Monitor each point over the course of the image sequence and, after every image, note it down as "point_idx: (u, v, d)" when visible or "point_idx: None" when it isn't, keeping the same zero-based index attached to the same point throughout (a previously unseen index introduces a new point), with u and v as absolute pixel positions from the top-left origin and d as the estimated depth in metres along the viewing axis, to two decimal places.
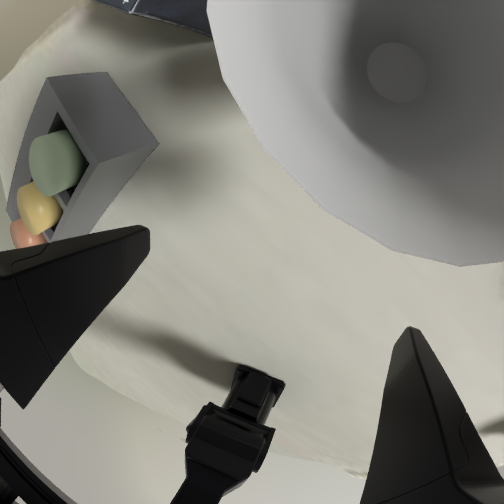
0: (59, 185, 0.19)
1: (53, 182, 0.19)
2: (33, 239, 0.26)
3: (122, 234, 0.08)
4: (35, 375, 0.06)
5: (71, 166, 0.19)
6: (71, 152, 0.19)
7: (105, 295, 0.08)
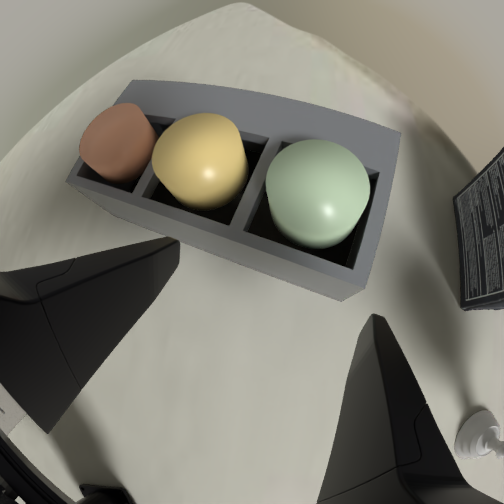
0: (312, 233, 0.14)
1: (315, 221, 0.13)
2: (128, 160, 0.17)
3: (153, 248, 0.08)
4: (61, 399, 0.06)
5: (336, 237, 0.15)
6: (352, 228, 0.15)
7: (135, 312, 0.08)
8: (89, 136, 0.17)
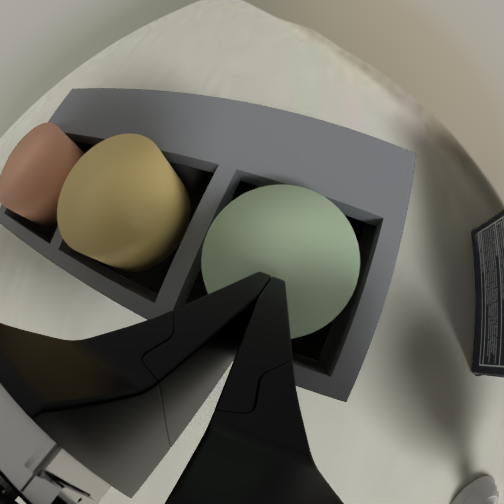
0: None
1: None
2: (43, 200, 0.12)
3: (254, 289, 0.08)
4: (153, 464, 0.05)
5: None
6: None
7: (229, 359, 0.07)
8: (9, 168, 0.12)
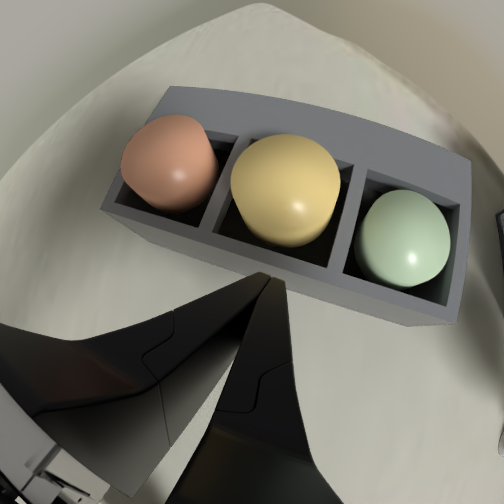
0: (408, 284, 0.14)
1: (411, 273, 0.13)
2: (190, 187, 0.15)
3: (254, 289, 0.08)
4: (152, 464, 0.05)
5: None
6: None
7: (229, 359, 0.08)
8: (133, 155, 0.15)
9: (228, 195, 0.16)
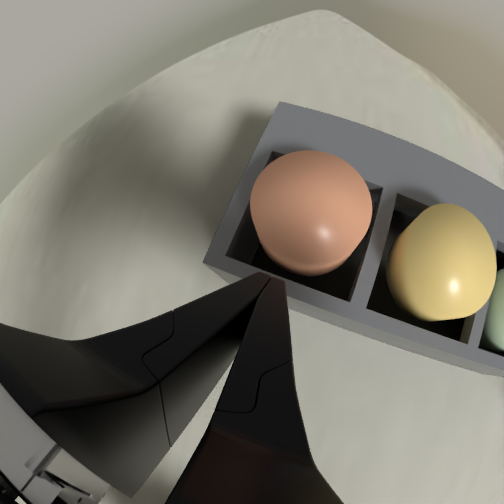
0: None
1: None
2: (348, 254, 0.12)
3: (254, 289, 0.08)
4: (152, 463, 0.05)
5: None
6: None
7: (229, 359, 0.07)
8: (269, 201, 0.12)
9: (379, 262, 0.13)
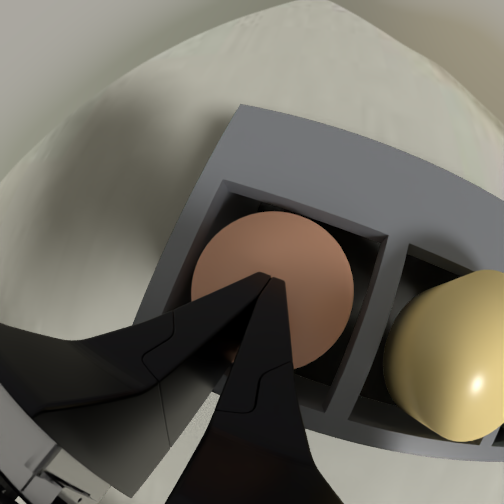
0: None
1: None
2: None
3: (254, 289, 0.08)
4: (152, 464, 0.05)
5: None
6: None
7: (229, 359, 0.07)
8: (215, 287, 0.09)
9: (374, 352, 0.09)
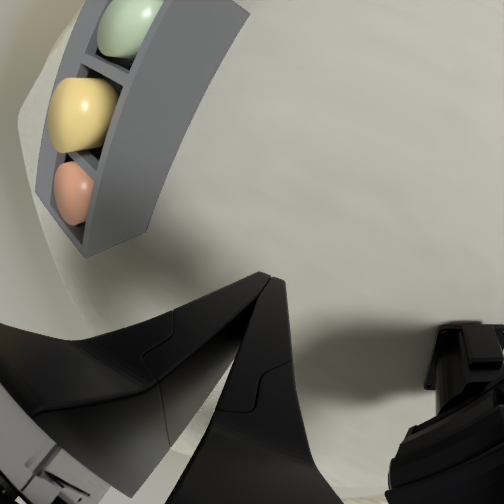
0: (149, 19, 0.12)
1: (140, 18, 0.12)
2: (89, 177, 0.19)
3: (254, 289, 0.08)
4: (152, 464, 0.05)
5: None
6: None
7: (229, 359, 0.08)
8: (68, 215, 0.21)
9: (83, 155, 0.18)
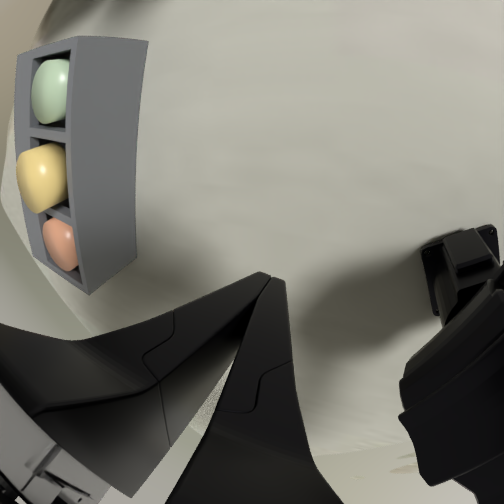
0: (65, 83, 0.15)
1: (58, 85, 0.14)
2: None
3: (254, 289, 0.08)
4: (152, 463, 0.05)
5: None
6: None
7: (229, 359, 0.08)
8: (63, 263, 0.24)
9: (57, 209, 0.21)
